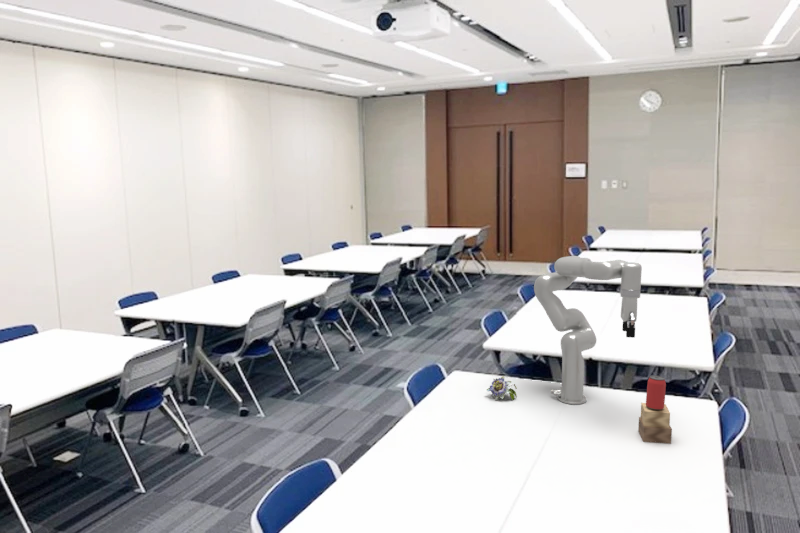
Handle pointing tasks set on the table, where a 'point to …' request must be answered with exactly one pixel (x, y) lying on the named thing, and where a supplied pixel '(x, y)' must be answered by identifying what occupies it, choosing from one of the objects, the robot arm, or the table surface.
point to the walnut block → (654, 433)
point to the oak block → (655, 416)
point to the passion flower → (501, 388)
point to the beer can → (656, 392)
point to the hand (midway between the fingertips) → (628, 334)
